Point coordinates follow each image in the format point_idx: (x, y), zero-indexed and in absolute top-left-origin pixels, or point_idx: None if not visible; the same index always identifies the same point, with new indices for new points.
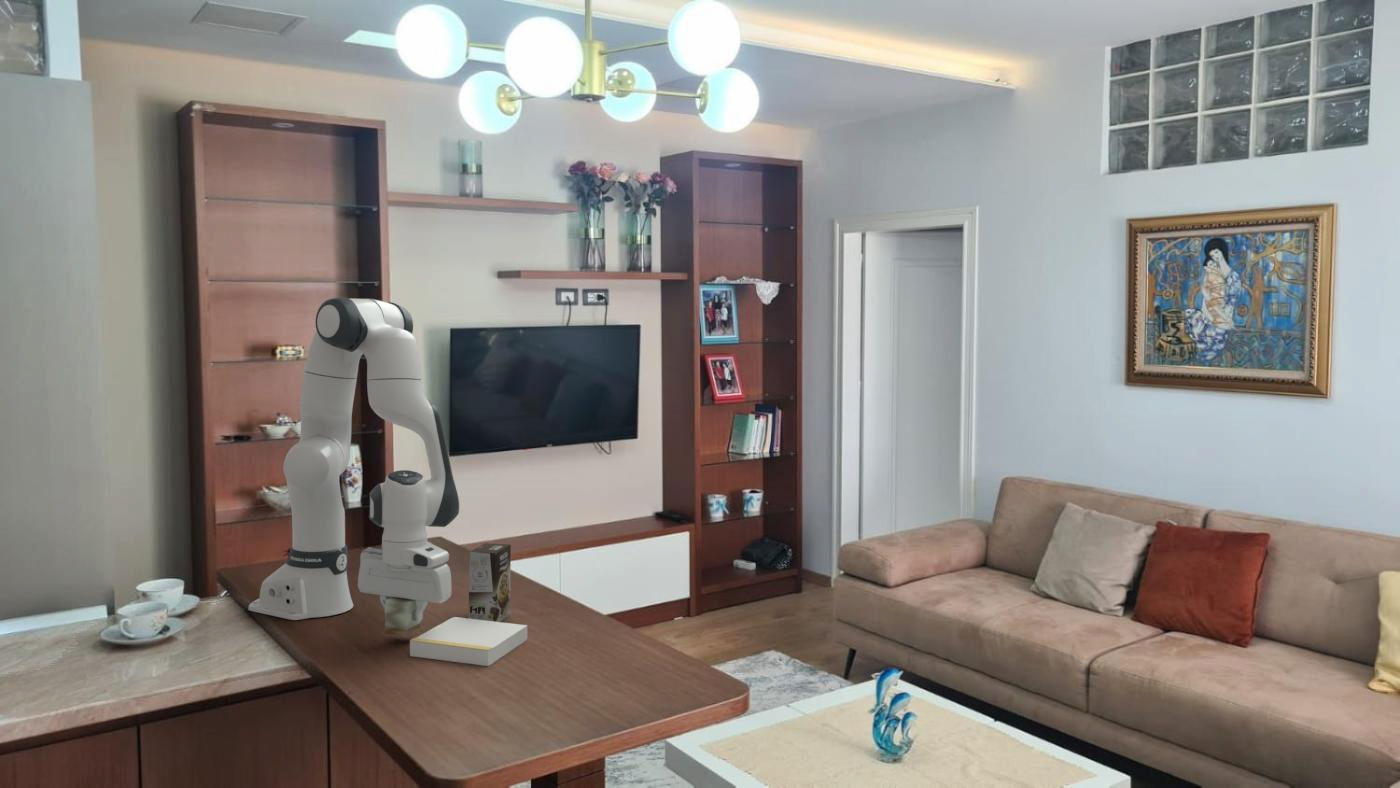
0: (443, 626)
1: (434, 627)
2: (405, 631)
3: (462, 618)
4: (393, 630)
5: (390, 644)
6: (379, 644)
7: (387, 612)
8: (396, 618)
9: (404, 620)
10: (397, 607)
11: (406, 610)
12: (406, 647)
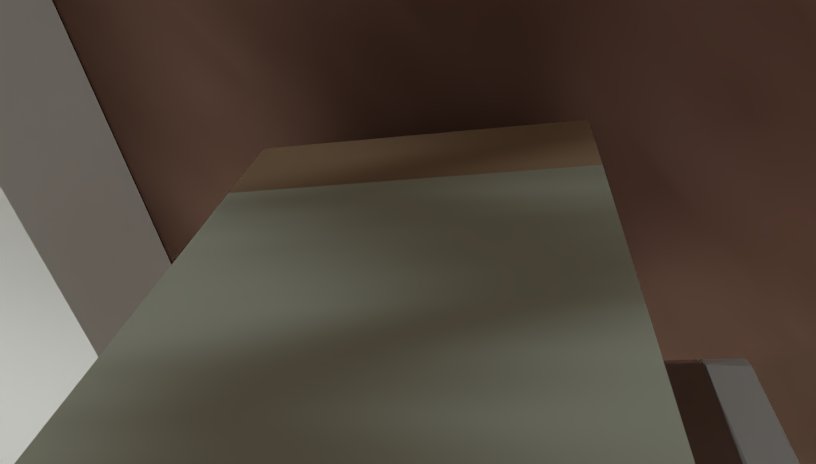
0: None
1: None
2: (254, 180)
3: None
4: (449, 159)
5: (490, 75)
6: (612, 11)
7: (587, 320)
8: (364, 267)
9: (203, 265)
10: (276, 445)
11: (58, 412)
12: (268, 79)
